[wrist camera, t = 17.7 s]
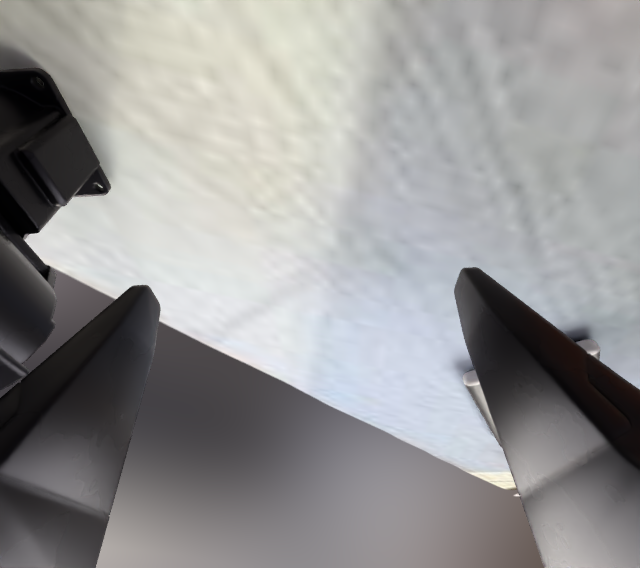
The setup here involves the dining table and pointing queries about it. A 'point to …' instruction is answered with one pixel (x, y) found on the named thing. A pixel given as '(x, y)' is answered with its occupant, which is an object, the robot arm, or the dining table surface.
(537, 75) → the dining table surface
